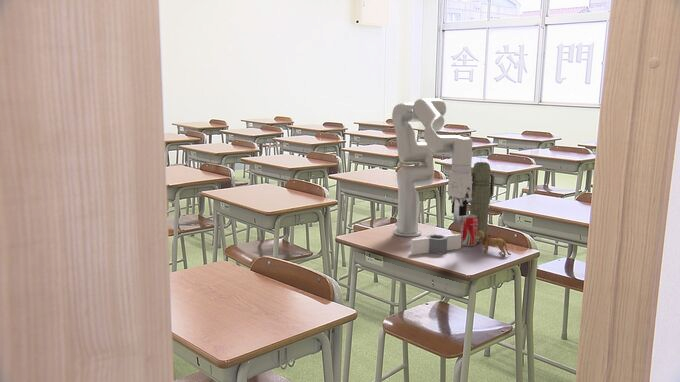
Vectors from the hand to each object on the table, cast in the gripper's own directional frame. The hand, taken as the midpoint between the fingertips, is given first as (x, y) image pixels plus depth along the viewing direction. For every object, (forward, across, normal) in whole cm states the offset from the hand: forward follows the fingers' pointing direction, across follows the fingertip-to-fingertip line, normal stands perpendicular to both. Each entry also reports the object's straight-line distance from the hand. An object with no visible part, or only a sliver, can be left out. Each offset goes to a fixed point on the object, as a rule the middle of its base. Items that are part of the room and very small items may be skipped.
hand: (458, 213), depth 226 cm
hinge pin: (+3, 0, 0) cm, 3 cm away
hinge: (+17, -8, -4) cm, 19 cm away
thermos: (+17, -15, +22) cm, 32 cm away
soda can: (+17, -11, +15) cm, 25 cm away
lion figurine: (+17, +3, +15) cm, 23 cm away
